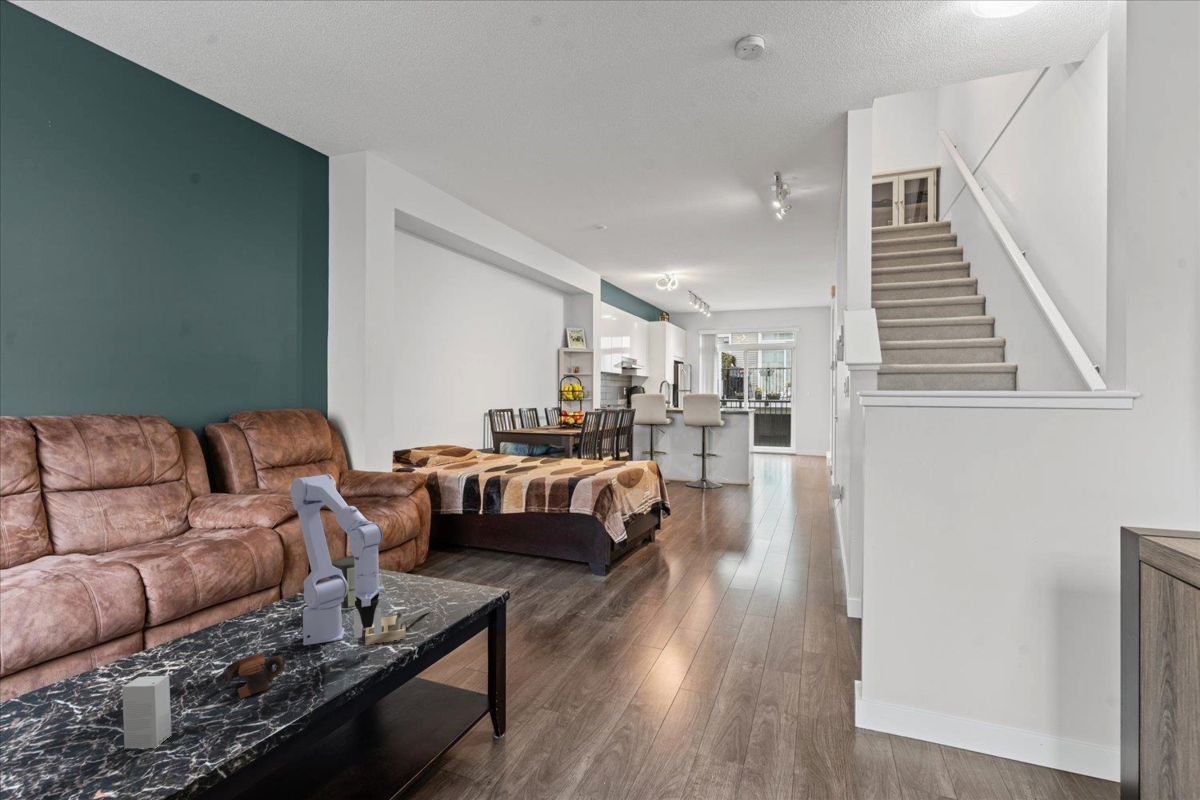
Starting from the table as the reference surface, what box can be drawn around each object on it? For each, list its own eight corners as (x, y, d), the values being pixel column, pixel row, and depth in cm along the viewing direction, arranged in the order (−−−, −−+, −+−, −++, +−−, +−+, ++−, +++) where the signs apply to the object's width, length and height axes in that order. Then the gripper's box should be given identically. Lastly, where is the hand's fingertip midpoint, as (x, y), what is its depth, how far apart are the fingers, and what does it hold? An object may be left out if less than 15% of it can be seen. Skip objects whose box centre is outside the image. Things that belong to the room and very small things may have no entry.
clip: (354, 638, 146) (353, 614, 146) (355, 634, 148) (354, 611, 148) (381, 634, 148) (380, 610, 148) (381, 630, 150) (381, 607, 150)
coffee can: (329, 612, 176) (328, 566, 176) (334, 601, 186) (333, 557, 186) (366, 608, 179) (364, 562, 179) (368, 597, 189) (367, 554, 189)
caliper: (399, 638, 155) (398, 615, 155) (395, 638, 155) (394, 614, 155) (432, 610, 175) (431, 589, 175) (428, 610, 175) (428, 589, 175)
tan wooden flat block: (365, 645, 151) (365, 635, 151) (367, 628, 163) (367, 619, 163) (405, 639, 155) (405, 629, 155) (404, 622, 166) (404, 614, 166)
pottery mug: (224, 706, 124) (216, 668, 126) (237, 705, 132) (229, 669, 134) (285, 680, 128) (276, 643, 131) (294, 680, 137) (285, 646, 139)
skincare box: (172, 736, 112) (170, 674, 112) (156, 749, 108) (154, 685, 108) (140, 737, 112) (138, 676, 112) (122, 751, 108) (120, 687, 107)
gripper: (383, 578, 142) (384, 633, 142) (383, 562, 156) (385, 612, 156) (351, 582, 140) (353, 637, 140) (355, 565, 154) (356, 616, 154)
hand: (368, 625), depth 148 cm, fingers closed on clip, 2 cm apart
